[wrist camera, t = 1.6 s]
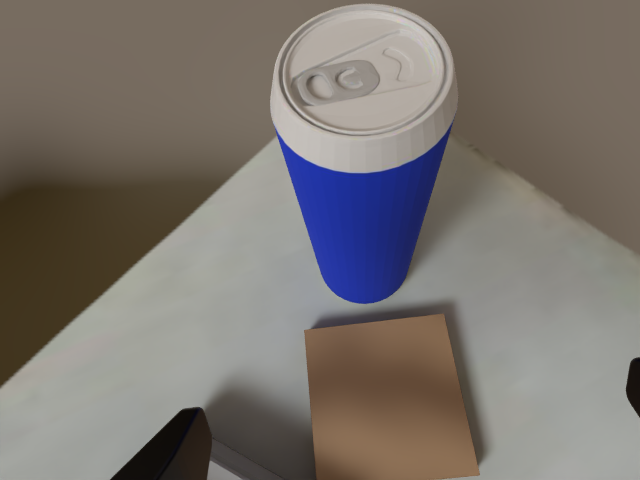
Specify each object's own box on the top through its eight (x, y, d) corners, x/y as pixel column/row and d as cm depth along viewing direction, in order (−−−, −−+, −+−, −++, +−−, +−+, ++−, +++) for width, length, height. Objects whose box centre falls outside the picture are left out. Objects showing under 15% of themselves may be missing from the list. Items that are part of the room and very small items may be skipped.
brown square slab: (474, 472, 19) (479, 475, 18) (319, 487, 20) (317, 490, 19) (440, 317, 22) (443, 313, 21) (306, 333, 23) (304, 329, 22)
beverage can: (387, 213, 25) (415, -26, 11) (421, 289, 23) (506, 107, 9) (309, 240, 25) (241, 30, 11) (336, 318, 23) (293, 179, 9)
